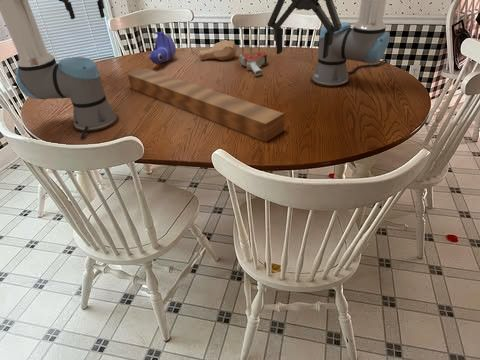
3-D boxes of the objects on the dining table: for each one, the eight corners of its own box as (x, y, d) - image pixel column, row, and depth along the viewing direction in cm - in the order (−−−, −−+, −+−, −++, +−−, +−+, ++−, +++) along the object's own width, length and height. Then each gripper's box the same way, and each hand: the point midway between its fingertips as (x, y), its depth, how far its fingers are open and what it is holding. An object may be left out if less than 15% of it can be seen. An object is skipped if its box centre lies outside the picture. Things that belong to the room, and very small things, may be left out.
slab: (131, 88, 160) (127, 74, 156) (148, 82, 165) (145, 68, 161) (266, 142, 115) (265, 123, 111) (283, 131, 120) (284, 113, 117)
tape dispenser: (258, 80, 163) (278, 64, 175) (258, 69, 159) (279, 54, 172) (226, 73, 170) (248, 58, 183) (226, 62, 167) (248, 48, 179)
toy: (164, 64, 198) (143, 70, 176) (159, 31, 191) (137, 33, 169) (180, 63, 196) (162, 69, 173) (176, 30, 189) (156, 32, 167)
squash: (238, 60, 183) (235, 44, 177) (201, 68, 185) (196, 51, 179) (237, 51, 191) (234, 34, 185) (201, 58, 193) (197, 42, 186)
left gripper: (105, -41, 147) (118, 14, 159) (47, -38, 148) (64, 17, 161) (98, -40, 140) (112, 18, 153) (38, -36, 142) (57, 21, 155)
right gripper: (255, -30, 91) (256, 54, 104) (353, -30, 82) (342, 62, 94) (266, -33, 97) (266, 47, 109) (360, -33, 87) (348, 54, 100)
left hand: (88, 18), depth 157 cm, fingers open, 13 cm apart
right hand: (301, 54), depth 102 cm, fingers open, 13 cm apart
